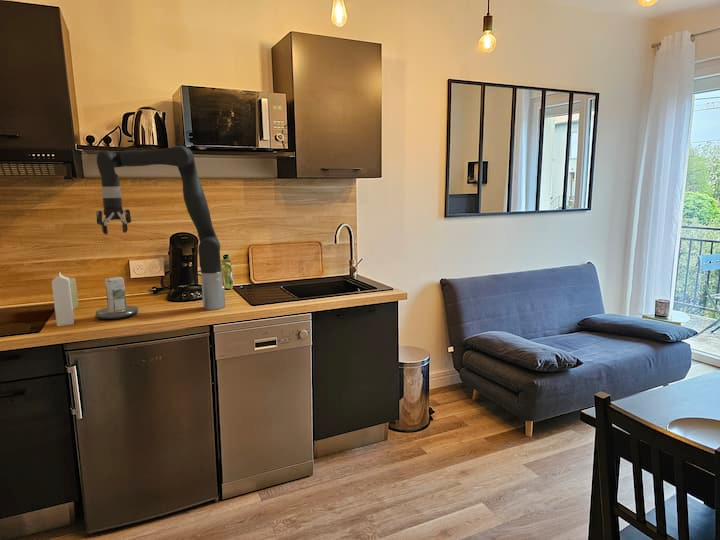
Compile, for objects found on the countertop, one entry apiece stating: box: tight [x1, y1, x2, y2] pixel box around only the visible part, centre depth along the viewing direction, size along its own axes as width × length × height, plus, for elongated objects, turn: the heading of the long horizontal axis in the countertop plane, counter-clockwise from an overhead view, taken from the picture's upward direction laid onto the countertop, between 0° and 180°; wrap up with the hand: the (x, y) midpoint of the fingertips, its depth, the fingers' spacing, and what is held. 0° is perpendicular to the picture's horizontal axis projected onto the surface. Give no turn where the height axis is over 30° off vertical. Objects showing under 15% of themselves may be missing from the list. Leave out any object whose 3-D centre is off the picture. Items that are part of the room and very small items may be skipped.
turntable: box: [95, 305, 139, 320], centre depth 216 cm, size 17×17×2 cm
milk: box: [51, 271, 75, 327], centre depth 204 cm, size 6×6×22 cm
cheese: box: [51, 277, 79, 311], centre depth 221 cm, size 22×10×15 cm, turn 27°
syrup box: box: [104, 276, 127, 312], centre depth 215 cm, size 6×6×14 cm
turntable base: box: [105, 316, 131, 321], centre depth 217 cm, size 12×12×1 cm
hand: (115, 233), depth 219 cm, fingers open, 8 cm apart
